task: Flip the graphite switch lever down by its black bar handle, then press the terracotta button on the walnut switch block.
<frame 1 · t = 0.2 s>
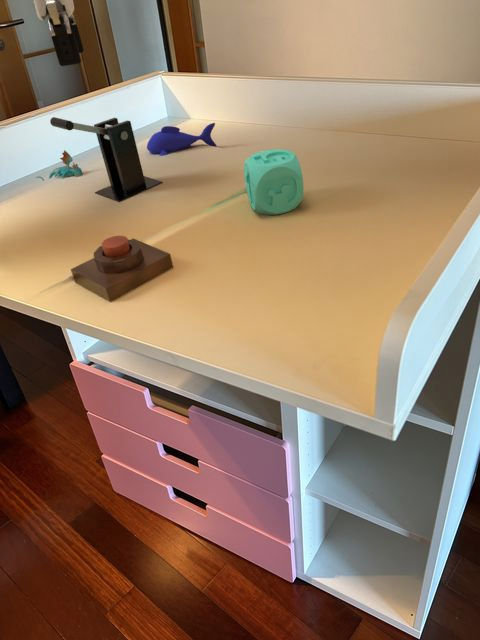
hand: (72, 58, 89), 24 cm above the table, tool pointing down, fingers open, 9 cm apart
switch lever: (91, 129, 95), point 13 cm above the table, hinge at 25.0°
button: (116, 247, 78), point 4 cm above the table, slide at 0.1 cm
button block: (124, 274, 81), on the table
fish toy: (184, 153, 121), on the table
dragon figurine: (65, 180, 115), on the table
decorative dice: (275, 206, 94), on the table
switch bracket: (130, 193, 106), on the table
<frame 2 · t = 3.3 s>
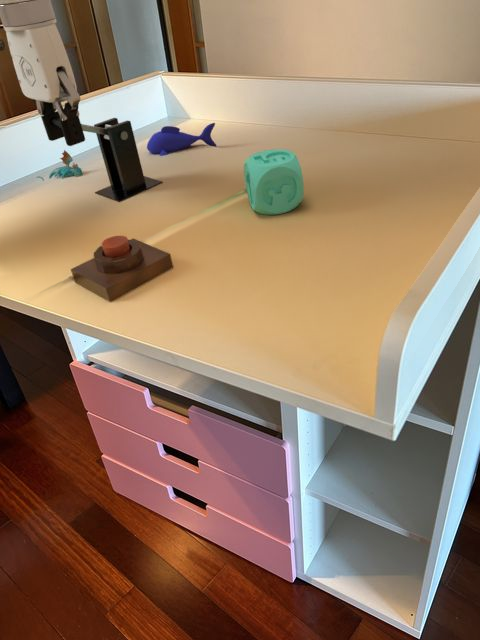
hand: (66, 139, 93), 13 cm above the table, tool pointing down, fingers closed on switch lever, 5 cm apart
switch lever: (91, 129, 95), point 13 cm above the table, hinge at 25.0°, touching gripper
everything else where it was.
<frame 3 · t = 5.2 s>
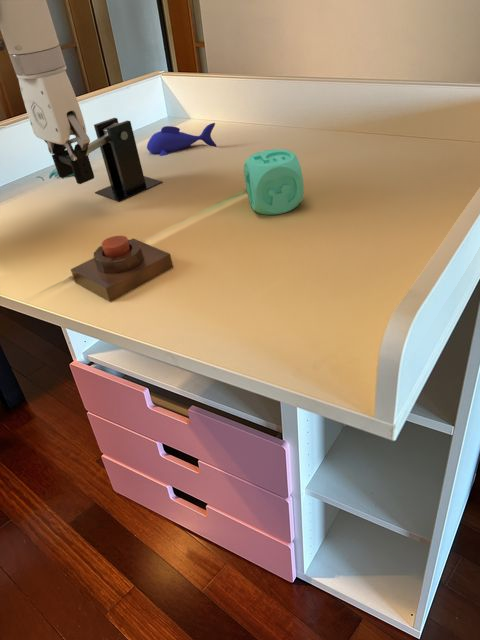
hand: (76, 176, 97), 6 cm above the table, tool pointing down, fingers closed on switch lever, 5 cm apart
switch lever: (93, 145, 97), point 10 cm above the table, hinge at -9.0°, touching gripper
everything else where it was.
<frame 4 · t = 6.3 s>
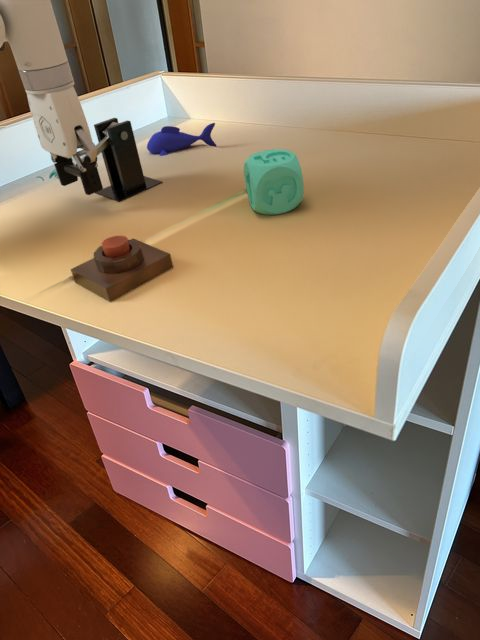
hand: (81, 186, 98), 5 cm above the table, tool pointing down, fingers open, 7 cm apart
switch lever: (96, 150, 98), point 9 cm above the table, hinge at -20.8°
everything else where it was.
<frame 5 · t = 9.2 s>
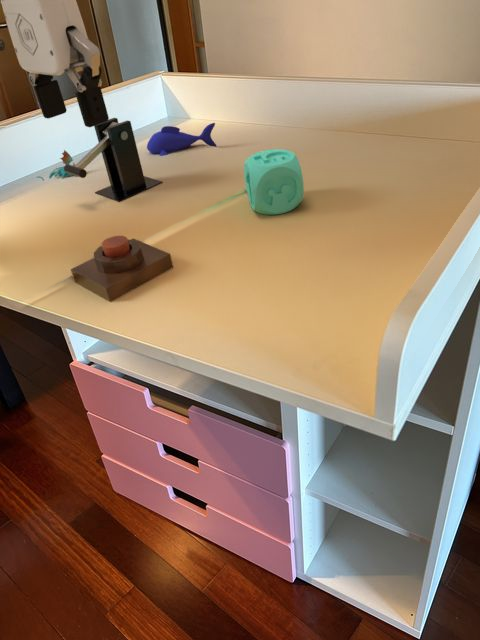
hand: (75, 119, 71), 21 cm above the table, tool pointing down, fingers open, 9 cm apart
nothing on the table moved.
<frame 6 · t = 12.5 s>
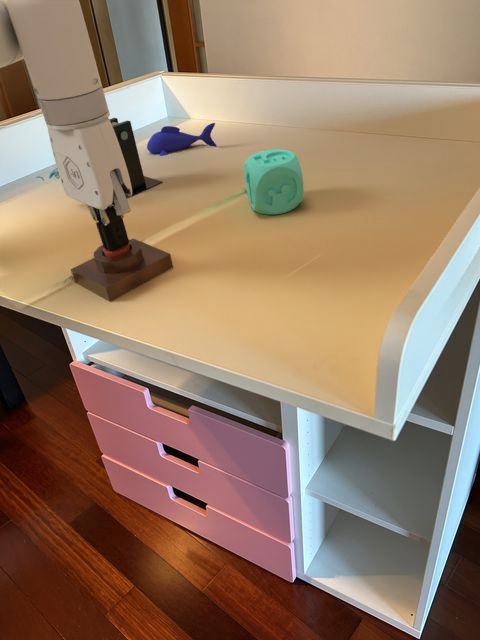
hand: (116, 246, 78), 5 cm above the table, tool pointing down, fingers closed
button: (117, 251, 79), point 4 cm above the table, slide at -0.6 cm, touching gripper
everything else where it was.
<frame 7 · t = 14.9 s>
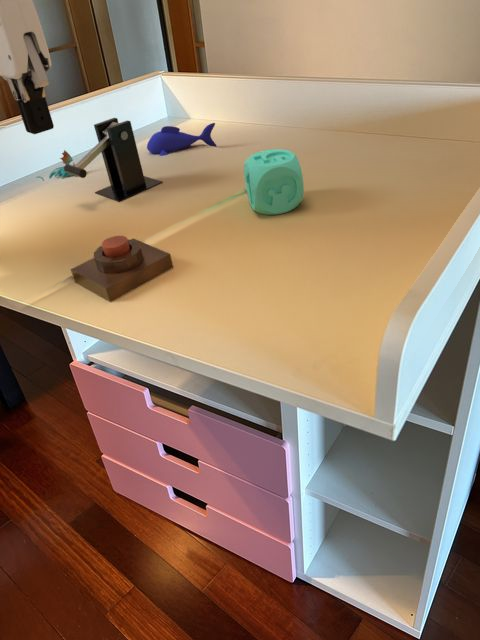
hand: (40, 130, 75), 19 cm above the table, tool pointing down, fingers closed
button: (116, 247, 78), point 4 cm above the table, slide at 0.1 cm
everything else where it was.
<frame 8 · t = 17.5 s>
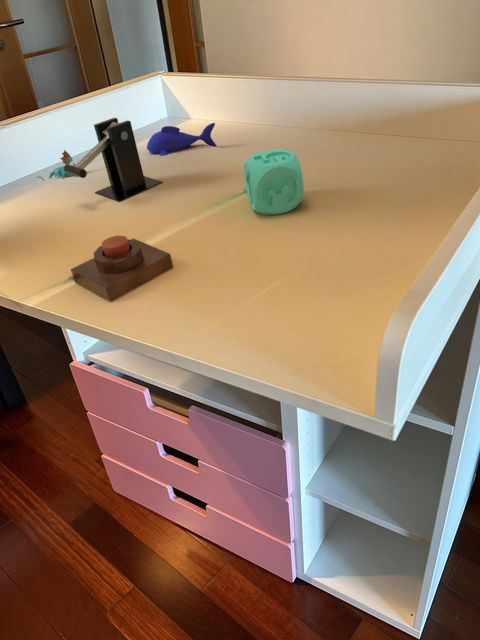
nothing on the table moved.
at the end: switch lever at -21° (first picture: +25°); button pushed in 1.1 cm at the most during the clip, back to where it started at the end; button slide at 0.1 cm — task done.
